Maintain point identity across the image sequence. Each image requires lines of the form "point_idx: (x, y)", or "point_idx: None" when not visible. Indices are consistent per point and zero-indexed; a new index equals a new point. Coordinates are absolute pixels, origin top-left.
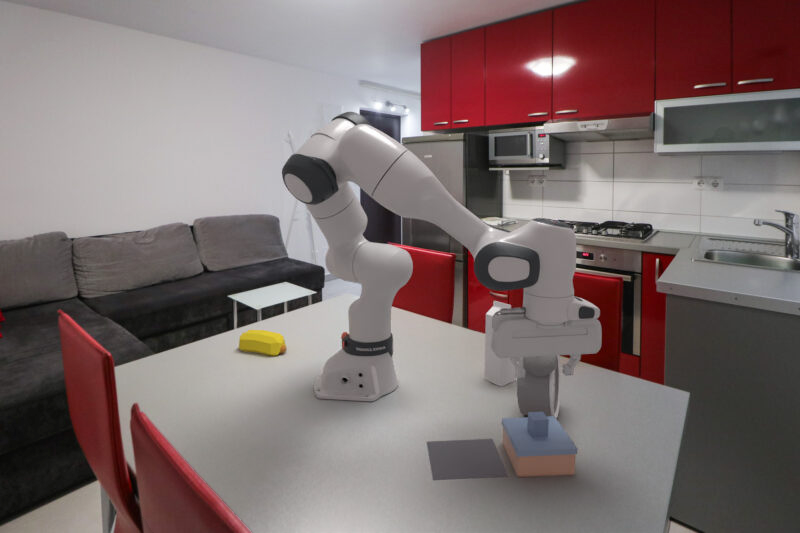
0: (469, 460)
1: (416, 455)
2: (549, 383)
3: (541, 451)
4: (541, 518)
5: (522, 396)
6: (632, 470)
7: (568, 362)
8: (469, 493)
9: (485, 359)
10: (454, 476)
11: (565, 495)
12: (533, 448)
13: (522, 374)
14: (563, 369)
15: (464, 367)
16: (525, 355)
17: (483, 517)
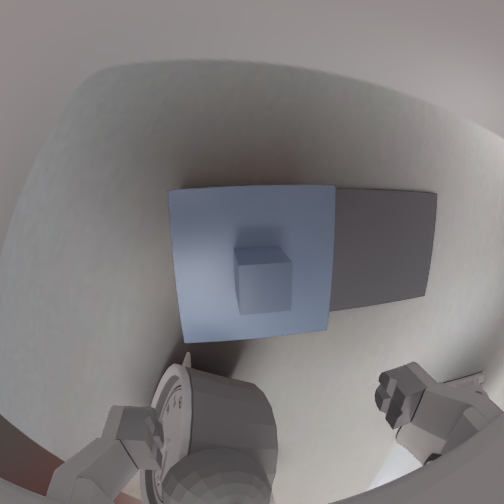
0: (379, 242)
1: (439, 263)
2: (190, 427)
3: (271, 185)
4: (289, 81)
5: (258, 402)
6: (61, 215)
7: (128, 472)
8: (392, 159)
9: (272, 495)
10: (410, 198)
11: (220, 134)
12: (292, 193)
13: (405, 377)
14: (158, 442)
15: (288, 482)
16: (487, 437)
17: (380, 102)
